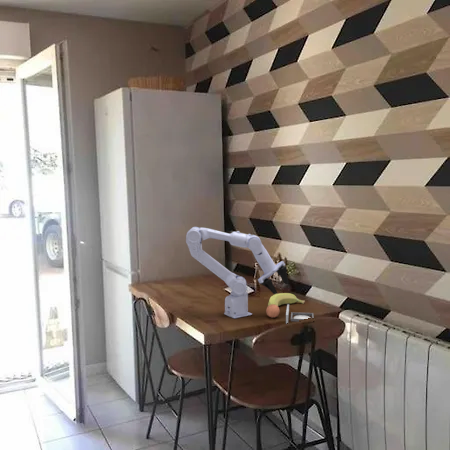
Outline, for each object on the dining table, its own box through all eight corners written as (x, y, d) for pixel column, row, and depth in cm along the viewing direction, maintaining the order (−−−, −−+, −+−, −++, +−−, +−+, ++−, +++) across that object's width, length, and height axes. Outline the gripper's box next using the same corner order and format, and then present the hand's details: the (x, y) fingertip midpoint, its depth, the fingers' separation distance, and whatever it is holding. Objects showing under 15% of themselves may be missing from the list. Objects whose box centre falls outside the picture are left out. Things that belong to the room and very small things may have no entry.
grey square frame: (290, 321, 198) (290, 318, 198) (291, 314, 207) (291, 312, 207) (313, 321, 196) (313, 319, 196) (313, 315, 205) (313, 313, 205)
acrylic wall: (288, 323, 195) (288, 315, 194) (286, 323, 195) (285, 315, 194) (288, 312, 210) (289, 304, 210) (287, 312, 210) (287, 304, 210)
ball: (271, 320, 200) (271, 307, 199) (263, 316, 204) (263, 304, 204) (282, 317, 203) (282, 304, 202) (273, 314, 207) (273, 302, 207)
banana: (262, 290, 221) (300, 291, 228) (259, 301, 223) (297, 301, 230) (274, 305, 209) (314, 305, 216) (272, 316, 211) (311, 316, 218)
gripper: (258, 269, 198) (275, 297, 199) (281, 251, 205) (298, 278, 206) (249, 271, 204) (266, 298, 205) (272, 253, 211) (288, 280, 212)
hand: (281, 288), depth 206 cm, fingers open, 7 cm apart
